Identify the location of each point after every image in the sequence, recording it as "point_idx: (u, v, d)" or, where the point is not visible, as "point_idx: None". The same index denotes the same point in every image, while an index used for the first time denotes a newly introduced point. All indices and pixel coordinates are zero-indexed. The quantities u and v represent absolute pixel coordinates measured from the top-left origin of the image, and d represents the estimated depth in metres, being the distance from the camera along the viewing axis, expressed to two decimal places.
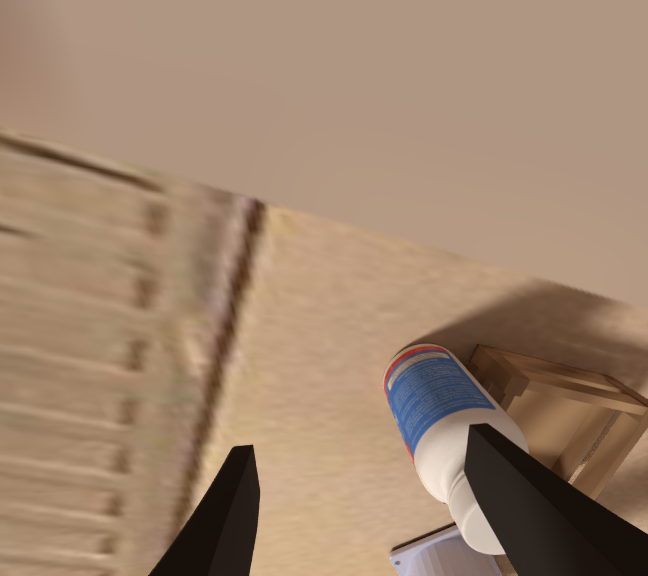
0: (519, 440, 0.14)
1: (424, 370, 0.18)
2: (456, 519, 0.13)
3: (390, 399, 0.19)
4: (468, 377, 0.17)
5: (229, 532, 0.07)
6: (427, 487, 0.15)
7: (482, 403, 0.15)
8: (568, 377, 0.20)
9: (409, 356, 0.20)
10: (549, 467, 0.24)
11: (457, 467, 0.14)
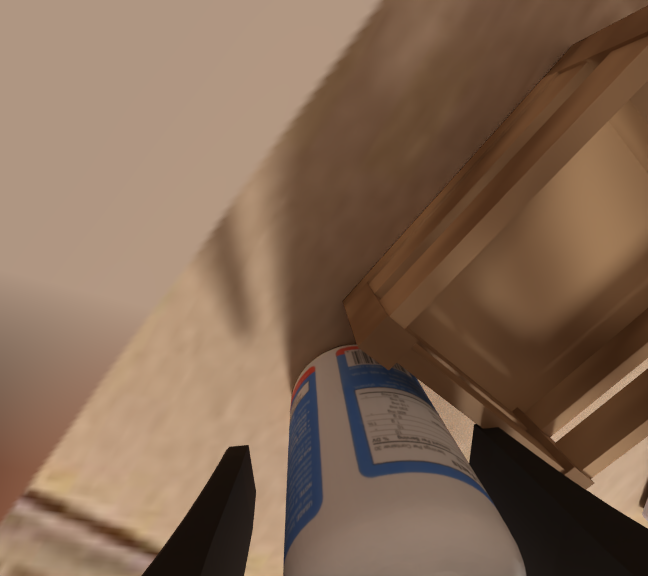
0: (376, 558, 0.06)
1: None
2: None
3: None
4: (315, 424, 0.09)
5: (222, 532, 0.07)
6: None
7: (302, 512, 0.07)
8: (480, 181, 0.09)
9: None
10: None
11: None
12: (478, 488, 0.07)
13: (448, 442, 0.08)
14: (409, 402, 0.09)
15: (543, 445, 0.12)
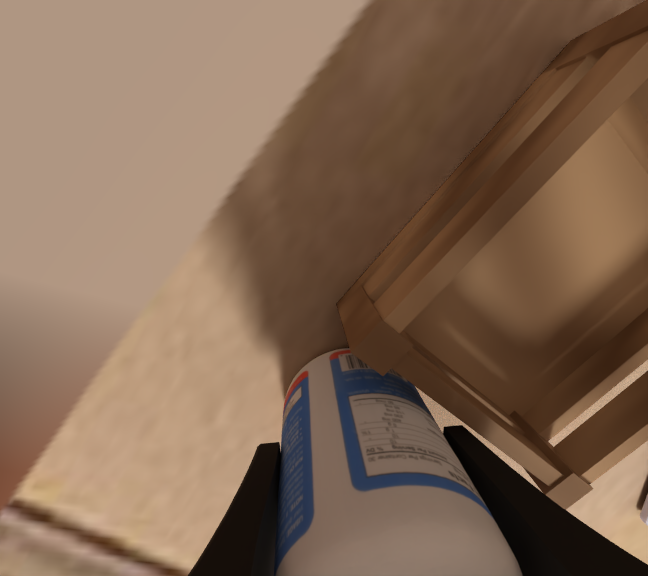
0: None
1: None
2: None
3: None
4: (307, 432, 0.09)
5: (264, 528, 0.07)
6: None
7: (293, 528, 0.07)
8: (476, 180, 0.09)
9: None
10: None
11: None
12: (476, 500, 0.07)
13: (445, 451, 0.08)
14: (405, 409, 0.09)
15: (541, 450, 0.11)
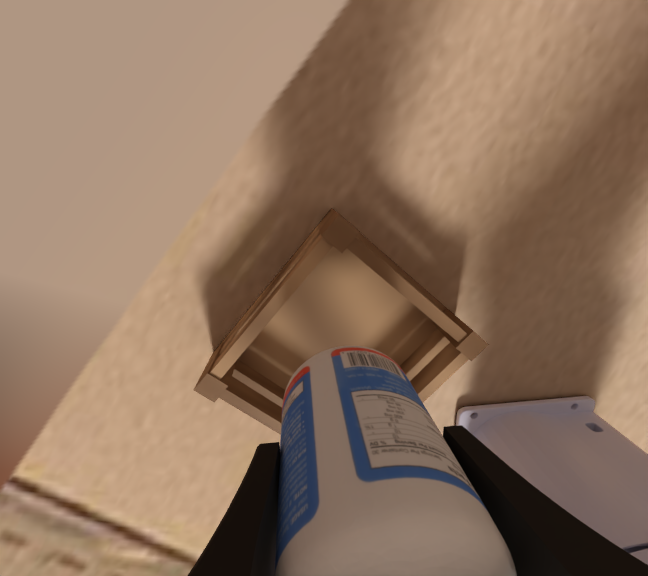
0: (374, 564, 0.06)
1: None
2: None
3: None
4: (310, 425, 0.09)
5: (264, 528, 0.07)
6: None
7: (297, 516, 0.07)
8: (271, 291, 0.16)
9: None
10: (427, 317, 0.18)
11: None
12: (473, 494, 0.07)
13: (443, 447, 0.08)
14: (406, 406, 0.09)
15: None
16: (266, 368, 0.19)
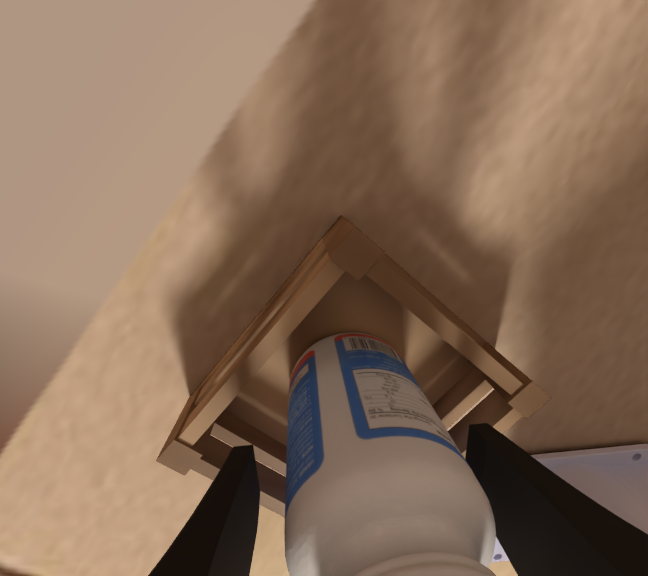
0: (370, 502, 0.07)
1: (287, 429, 0.11)
2: None
3: None
4: (315, 398, 0.10)
5: (228, 532, 0.07)
6: None
7: (304, 470, 0.08)
8: (262, 326, 0.12)
9: None
10: (461, 353, 0.14)
11: None
12: (458, 453, 0.08)
13: (434, 417, 0.09)
14: (401, 382, 0.10)
15: None
16: (256, 417, 0.15)
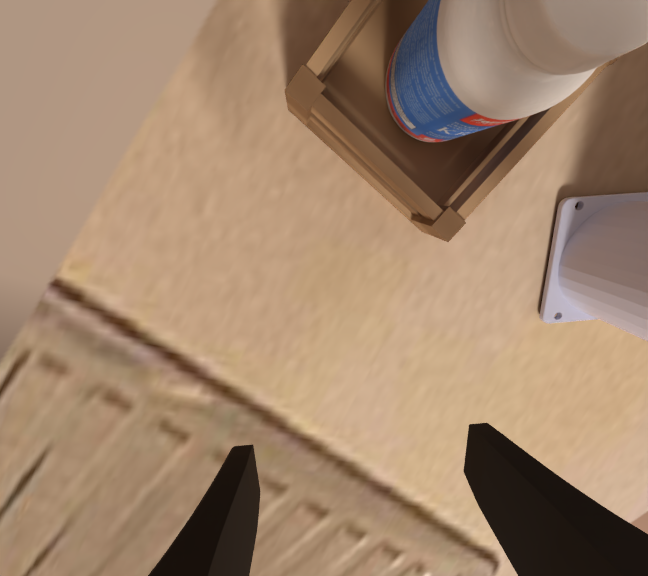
0: None
1: (401, 58, 0.13)
2: (563, 58, 0.08)
3: (424, 130, 0.14)
4: None
5: (229, 532, 0.07)
6: (521, 107, 0.10)
7: None
8: None
9: (389, 80, 0.15)
10: None
11: (500, 30, 0.08)
12: None
13: None
14: None
15: None
16: None
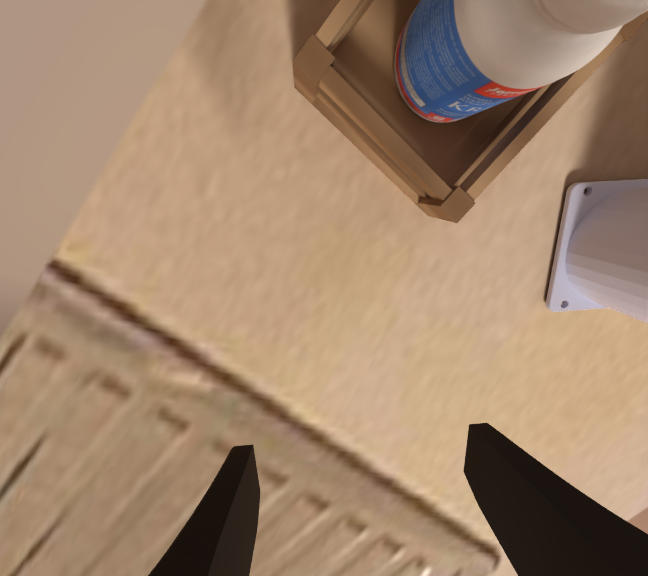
0: None
1: (413, 30, 0.12)
2: (590, 12, 0.07)
3: (434, 108, 0.14)
4: None
5: (229, 531, 0.07)
6: (540, 73, 0.09)
7: None
8: None
9: (399, 56, 0.14)
10: None
11: None
12: None
13: None
14: None
15: None
16: None
